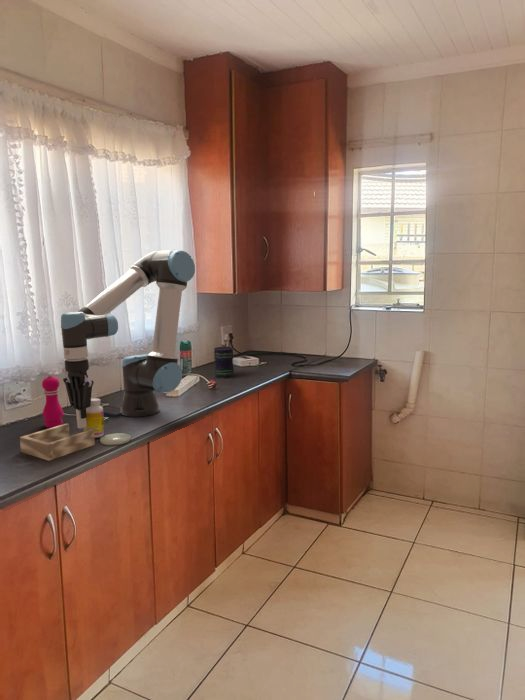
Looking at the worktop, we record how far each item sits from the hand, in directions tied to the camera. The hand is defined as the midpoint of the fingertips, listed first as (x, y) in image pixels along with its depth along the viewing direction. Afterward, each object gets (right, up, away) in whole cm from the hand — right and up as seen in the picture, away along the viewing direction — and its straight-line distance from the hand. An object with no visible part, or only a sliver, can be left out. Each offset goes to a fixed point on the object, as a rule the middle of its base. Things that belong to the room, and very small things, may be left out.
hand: (82, 427), depth 188 cm
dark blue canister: (+41, +12, +100) cm, 109 cm away
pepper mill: (-16, -2, +18) cm, 25 cm away
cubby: (-5, -6, -7) cm, 11 cm away
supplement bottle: (+3, -4, +5) cm, 7 cm away
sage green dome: (+11, -5, 0) cm, 12 cm away
